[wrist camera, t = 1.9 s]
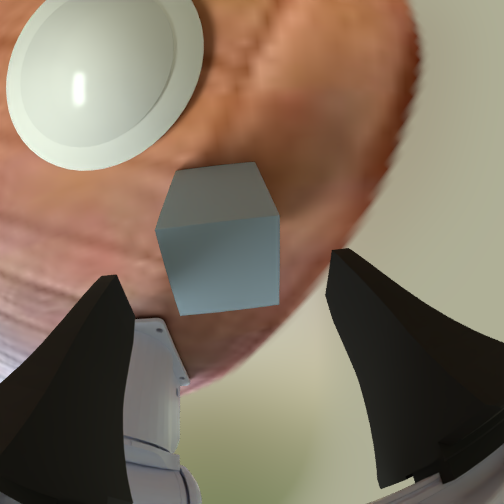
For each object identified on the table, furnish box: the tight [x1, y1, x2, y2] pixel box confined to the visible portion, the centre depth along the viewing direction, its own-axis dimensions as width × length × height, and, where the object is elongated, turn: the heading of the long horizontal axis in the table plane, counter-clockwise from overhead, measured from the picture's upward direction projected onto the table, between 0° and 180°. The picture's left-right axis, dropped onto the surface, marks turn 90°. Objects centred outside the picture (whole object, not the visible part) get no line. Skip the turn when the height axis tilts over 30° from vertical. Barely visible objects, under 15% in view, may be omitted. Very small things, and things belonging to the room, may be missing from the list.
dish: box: [6, 0, 204, 171], centre depth 9 cm, size 11×11×1 cm
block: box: [155, 162, 280, 316], centre depth 12 cm, size 4×4×6 cm
